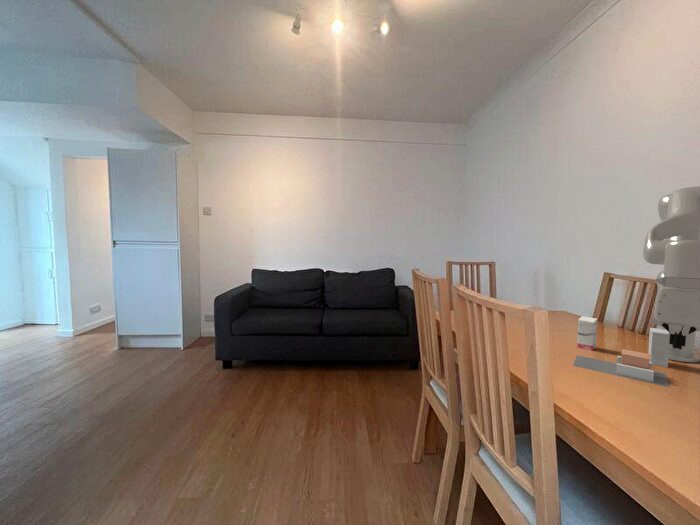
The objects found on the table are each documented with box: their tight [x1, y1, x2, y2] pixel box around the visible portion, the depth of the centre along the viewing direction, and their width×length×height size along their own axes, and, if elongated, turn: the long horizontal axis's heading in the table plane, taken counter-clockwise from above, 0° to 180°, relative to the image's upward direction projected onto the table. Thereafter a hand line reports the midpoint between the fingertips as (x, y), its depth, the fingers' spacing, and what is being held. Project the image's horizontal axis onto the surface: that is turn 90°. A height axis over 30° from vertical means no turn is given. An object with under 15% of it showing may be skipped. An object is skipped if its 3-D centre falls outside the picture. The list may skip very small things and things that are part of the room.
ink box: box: [576, 315, 599, 351], centre depth 116 cm, size 9×5×12 cm, turn 133°
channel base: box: [572, 355, 671, 388], centre depth 95 cm, size 12×22×4 cm, turn 47°
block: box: [620, 348, 649, 370], centre depth 92 cm, size 6×6×6 cm
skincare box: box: [647, 327, 670, 368], centre depth 100 cm, size 6×4×12 cm
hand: (676, 347), depth 86 cm, fingers closed
